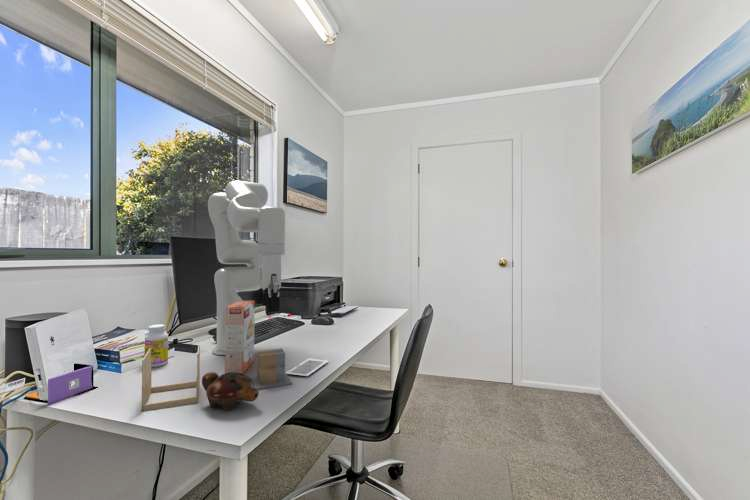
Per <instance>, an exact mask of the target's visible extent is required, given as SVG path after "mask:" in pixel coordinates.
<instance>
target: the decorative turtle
mask: <svg viewBox="0 0 750 500" xmlns="http://www.w3.org/2000/svg"><path fill="white" fill-rule="evenodd" d="M201 385H202V387H203V389H204V391H205V395H206V398H207V400H208V404H209V406H210V408H211V409H213V410H217V409H218V408H219V407H220V406H222V408H223V409H224V410H226V411H227V412H230V411H232V410H233V409H234V407H235V405H236V404H237V402H238V401H240V402H255V401H256V400H257V399H258V397H259V392H260V390H258V389H256V388H254V386H253V383H252V380H251V377H249V376H248V375H246V374H245V373H244V374H241V373H237V372H230V373H225V372H224V373H223V374H221V375H219V374H218V373H217V372H213V371H211V372H207V373H205V374H203V376H202V378H201Z"/></svg>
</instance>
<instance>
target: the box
mask: <svg viewBox="0 0 750 500" xmlns="http://www.w3.org/2000/svg"><path fill="white" fill-rule="evenodd" d="M256 355H257V357H256V360H257V362H256V365H257V366H256V367H257V368H256V370H257V372H256V373H257V375H256V376H257V379H258V382H259V385H260V384H266V383H273V382H279V381H285V372H286V352H285V351H284V349H283V348H282V347H281V348H273V349H266V350H264V349H263V350H257V353H256Z"/></svg>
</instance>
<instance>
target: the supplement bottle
mask: <svg viewBox="0 0 750 500" xmlns="http://www.w3.org/2000/svg"><path fill="white" fill-rule="evenodd" d="M165 329H166V325H165V324H160V323H159V324H152V325H149V326H148V328H147V330H148V334H146V335H145V336H144V356H145V355H146V353H147V352H148V350H149V348H151V368H157V367H161V366H162V367H163V366H165V365H167V363H168V362H169V334H168V333H167V332H166V331H165Z"/></svg>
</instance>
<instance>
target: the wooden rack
mask: <svg viewBox="0 0 750 500" xmlns="http://www.w3.org/2000/svg"><path fill="white" fill-rule="evenodd" d="M197 345H198V346H197V355H196V380H195V381H193V380H191V381H186V382H179V383H171V384H166V385H157V386H152V367H151V348H149V350H148V352H147V353H146V355H145V354H144V357H143V358H142V360H141V412H144V411H151V410H157V409H164V408H170V407H171V408H172V407H176V406H181V405H189V404H196V403H199V400H200V397H199V396H200V387H201V386H200V384H201V383H200V382H201V381H200V378H201V376H200V374H201V373H200V366H201V365H200V364H201V363H200V360H201V358H200V356H201V354H200V353H201V348H200V347H201V343H200V342H199V343H198V344H197ZM194 387H196V396H190V397H185V398H177V399H171V400H166V401H159V402H153V403H152V402H151V403H148V401H149V398H150V397H151V394H153V393H158V392H160V393H161V392H167V391H172V390H181V389H186V388H194Z"/></svg>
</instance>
